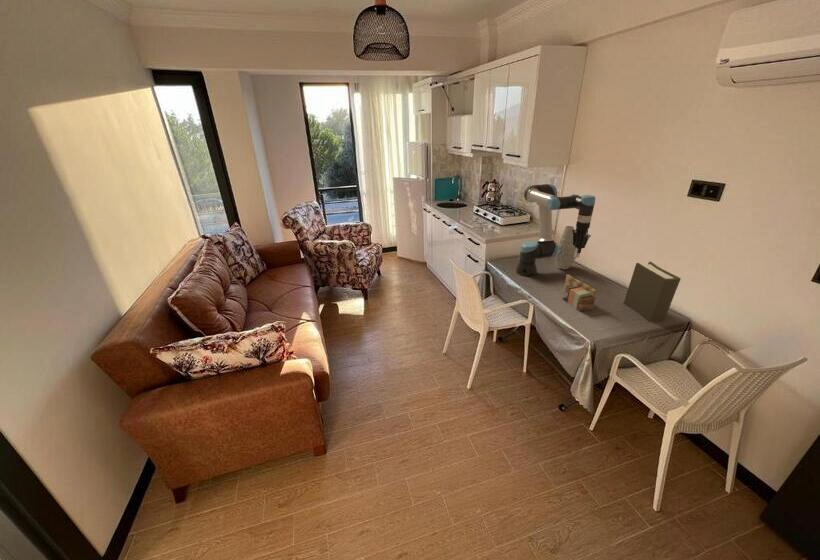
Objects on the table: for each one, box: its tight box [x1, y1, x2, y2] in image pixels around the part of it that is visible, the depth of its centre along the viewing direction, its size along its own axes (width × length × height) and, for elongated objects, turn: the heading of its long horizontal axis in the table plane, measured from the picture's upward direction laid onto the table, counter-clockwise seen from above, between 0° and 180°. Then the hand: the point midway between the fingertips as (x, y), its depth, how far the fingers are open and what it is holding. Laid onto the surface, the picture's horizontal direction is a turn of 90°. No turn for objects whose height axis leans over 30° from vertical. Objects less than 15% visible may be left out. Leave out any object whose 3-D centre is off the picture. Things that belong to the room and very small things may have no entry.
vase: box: [553, 225, 577, 270], centre depth 250 cm, size 17×17×33 cm
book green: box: [571, 290, 590, 309], centre depth 202 cm, size 4×8×10 cm, turn 107°
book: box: [623, 261, 682, 323], centre depth 189 cm, size 22×9×28 cm, turn 8°
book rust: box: [566, 287, 585, 307], centre depth 205 cm, size 4×8×10 cm, turn 107°
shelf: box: [563, 274, 597, 312], centre depth 208 cm, size 25×11×12 cm, turn 17°
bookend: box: [562, 286, 581, 303], centre depth 209 cm, size 5×8×10 cm, turn 107°
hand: (576, 257), depth 210 cm, fingers closed
